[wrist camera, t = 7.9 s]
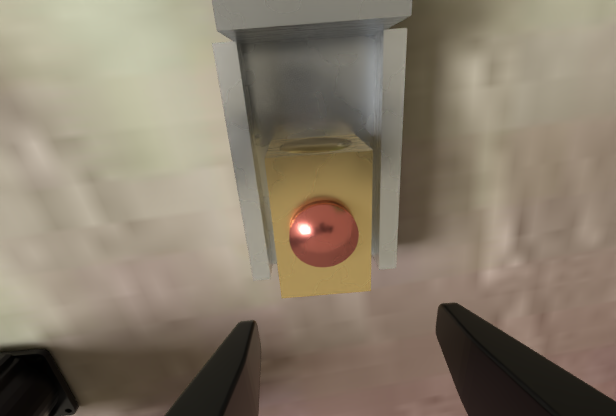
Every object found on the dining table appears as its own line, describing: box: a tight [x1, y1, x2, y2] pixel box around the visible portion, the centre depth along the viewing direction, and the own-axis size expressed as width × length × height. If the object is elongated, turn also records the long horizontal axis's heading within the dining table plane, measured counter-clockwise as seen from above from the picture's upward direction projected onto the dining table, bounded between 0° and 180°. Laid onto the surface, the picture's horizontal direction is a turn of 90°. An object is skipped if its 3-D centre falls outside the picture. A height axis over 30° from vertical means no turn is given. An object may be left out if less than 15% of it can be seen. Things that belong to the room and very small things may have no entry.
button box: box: [264, 134, 373, 298], centre depth 15 cm, size 7×4×5 cm, turn 4°
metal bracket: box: [212, 0, 412, 281], centre depth 12 cm, size 25×8×5 cm, turn 4°
